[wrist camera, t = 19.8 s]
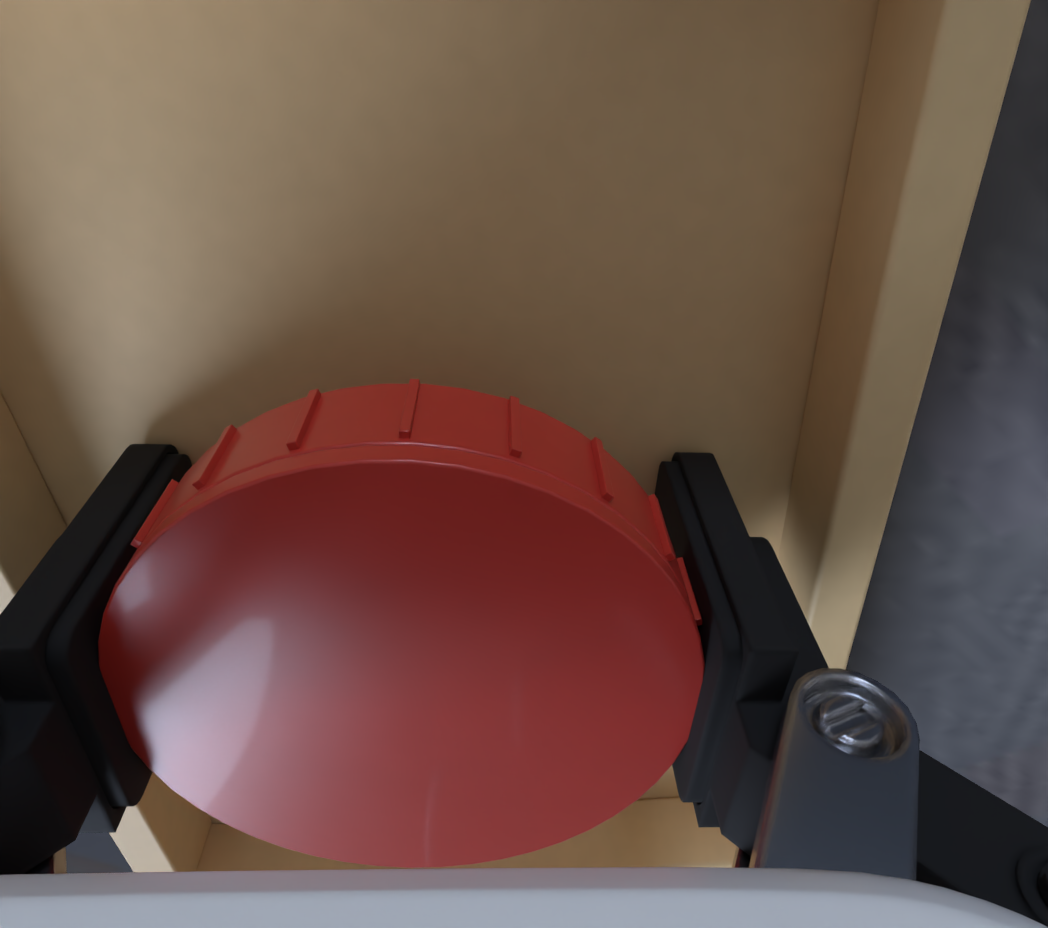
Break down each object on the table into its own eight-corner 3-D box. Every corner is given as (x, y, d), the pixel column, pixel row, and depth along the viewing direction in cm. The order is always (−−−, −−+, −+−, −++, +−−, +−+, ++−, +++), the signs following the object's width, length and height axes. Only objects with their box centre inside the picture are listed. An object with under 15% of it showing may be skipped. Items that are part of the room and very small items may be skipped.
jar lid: (132, 322, 8) (56, 396, 6) (762, 435, 9) (809, 519, 7) (160, 744, 12) (116, 846, 10) (601, 791, 12) (614, 889, 11)
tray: (760, 790, 17) (788, 882, 15) (194, 823, 17) (161, 917, 15) (966, -185, 8) (1099, -227, 6) (-286, -113, 8) (-507, -134, 6)
